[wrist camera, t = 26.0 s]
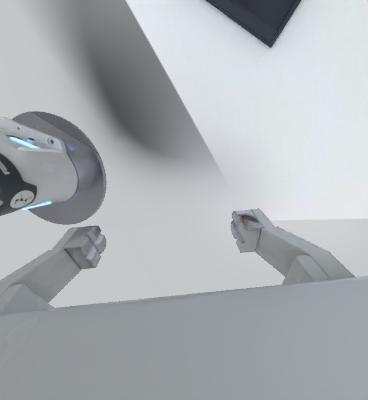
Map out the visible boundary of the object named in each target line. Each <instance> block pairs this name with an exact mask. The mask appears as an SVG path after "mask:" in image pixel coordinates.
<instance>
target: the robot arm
mask: <svg viewBox="0 0 368 400" xmlns="http://www.w3.org/2000/svg"><path fill="white" fill-rule="evenodd" d="M53 142H54V143H53ZM77 185H78V177H77V172H76V169H75V167H74V164H73V163H72V161H71V159H70V158H69V156H68V154H67V150H66V147H65V144H64V142H63V140H62V139H60V138H58V137H55V136H52V135H50V134H47V133H45V132H42V131H40V130H37V129H34V128H32V127H29V126H27V125H24V124H21V123H19V122H16V121H14V120H11V119H8V118H5V117H0V216H1V215H5V214H8V213H11V212H14V211H17V210H19V209H22V210H24V209H29V208H33V207H38V206H44V205H47V204H50V203H53V202H62V201H66V200H68V199H70V198H71V197H72V196H73V195H74V193H75V191H76V189H77ZM232 218H233V221H232V222H231V231H232V234H233V237H234V238H236V239H237V246H238V248H239V250H240V252H241V253H242V252H253V251H254V252H255V251H256V253H257V254H258V255H259V256H261V257H262V258H263V259H264V260H266V261H267V262H268V263H269V264H271V265H272V266H273V267H274V268H276V269H277V270H278V271H279V272H280V273H281V274H283V275H284V276H285V279H284V281H283V283H282V285H276V286H265V287H256V288H246V289H236V290H226V291H216V292H207V293H197V294H187V295H177V296H168V297H158V298H148V299H138V300H129V301H119V302H109V303H99V304H90V305H80V306H70V307H61V308H54V307H52V306H51V305H50V304H48V303H49V302H50V301H51V299H53V298H54V297H55V296H56V295H57V294H58V293H59V292H60V291H61V290H62V289H63V288H64V287H65V286H66V285H67V284H68V283H69V282H70V281H71V280H72V279H73V278H74V277H75V276H76V275H77V274H78V273H79V272H80V271H81V269H88V268H95V267H97V264H98V262H99V260H100V258H101V256H100V254H101V253H102V252H103V251H104V250H105V247H106V238H105V236H104V235H102V234H101V233H100V232H101V230H100V228H99V226H88V227H77V228H71V229H69V230H68V231H67V232H66V234H65V235H64V236H63V237H62V238H61V239H60V241H59V242H58V243H57V244H56V245H55V246H54V248H53V249H52V250H48V251H47V252H46V253H44V254H42V255H41V256H39V257H37V258H36V259H34V260H32V261H31V262H29V263H28V264H26V265H24V266H23V267H21V268H20V269H18V270H16V271H15V272H13V273H12V274H10V275H8V276H7V277H6V278H4V279H2V280H1V281H0V400H368V276H363V277H355V276H354V275H353V274H351V272H349V271H348V270H347V269H346V268H345V267H344V266H343V265H342V264H341V263H340V262H339V261H338V260H337V259H336V258H335V257H334V256H333V255H332V254H331V253H330V252H328V251H326V250H324V249H322V248H320V247H318V246H316V245H314V244H312V243H310V242H308V241H306V240H304V239H302V238H299V237H298V236H295V235H293V234H292V233H289V232H287V231H285V230H283V229H281V228H279V227H274V225H273V224H272V223H271V222H270V221H269V219H268V218H267V217H266V216H265V214H264V213H263V212H262V211H261V210H260V209H259V208H257V209H250V210H242V211H234V212H233V213H232Z"/></svg>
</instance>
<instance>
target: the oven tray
mask: <svg viewBox="0 0 368 400" xmlns="http://www.w3.org/2000/svg"><path fill="white" fill-rule="evenodd" d="M207 1H208V2H210V3H211V4H212V5H214V6H215V7H216V8H218V9H219V10H220V11H222V12H223V13H224V14H226V15H227V16H229V17H230V18H231V19H233V20H234V21H235V22H237V23H238V24H239V25H241V26H242V27H243V28H245V29H246V30H248V31H249V32H250V33H252V34H253V35H254V36H256V37H257V38H258V39H260V40H261V41H262V42H264V43H265V44H267V45H268V46H269V47H272V45H273V44H274V42H275V41H276V39H277V38H278V36H279V35H280V33H281V31H282V30H283V28H284V27H285V25H286V23H287V22H288V20H289V19H290V17H291V16H292V14H293V12H294V11H295V9H296V8H297V6H298V4H299V3H300V1H301V0H207Z"/></svg>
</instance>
